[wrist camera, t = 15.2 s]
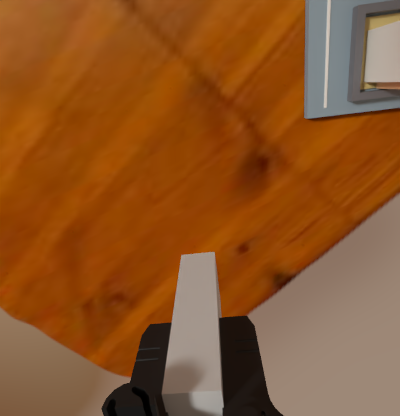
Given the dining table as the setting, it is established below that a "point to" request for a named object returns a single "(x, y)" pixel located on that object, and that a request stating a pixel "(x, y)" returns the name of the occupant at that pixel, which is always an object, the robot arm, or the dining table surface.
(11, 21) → the dining table surface
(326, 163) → the dining table surface
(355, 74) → the board
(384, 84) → the plug
